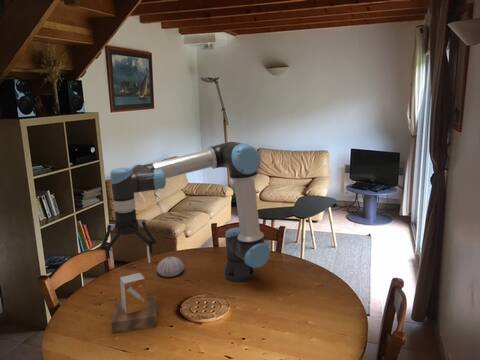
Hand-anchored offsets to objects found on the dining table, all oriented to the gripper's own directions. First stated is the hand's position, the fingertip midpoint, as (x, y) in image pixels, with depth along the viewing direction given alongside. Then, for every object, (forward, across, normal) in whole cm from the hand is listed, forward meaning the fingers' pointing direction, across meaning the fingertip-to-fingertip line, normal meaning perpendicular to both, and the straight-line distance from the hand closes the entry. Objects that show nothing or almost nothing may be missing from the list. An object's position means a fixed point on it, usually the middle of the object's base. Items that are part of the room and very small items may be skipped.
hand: (131, 263), depth 154 cm
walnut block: (+24, +1, 0) cm, 24 cm away
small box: (+19, +1, 0) cm, 19 cm away
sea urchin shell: (+24, -14, -39) cm, 48 cm away
